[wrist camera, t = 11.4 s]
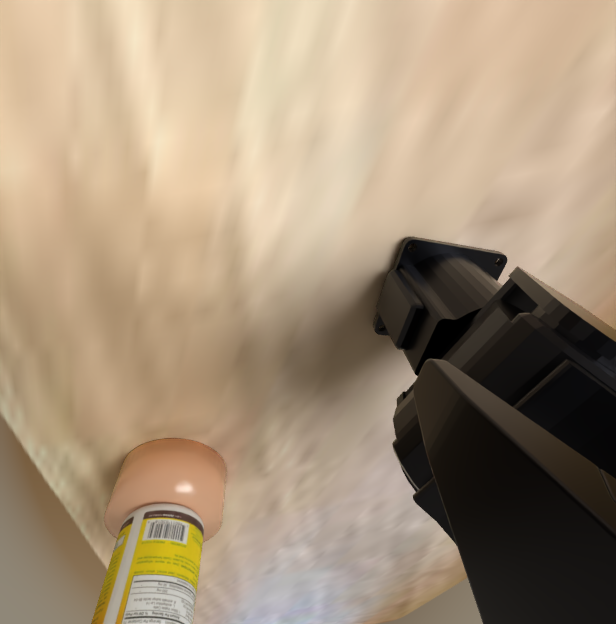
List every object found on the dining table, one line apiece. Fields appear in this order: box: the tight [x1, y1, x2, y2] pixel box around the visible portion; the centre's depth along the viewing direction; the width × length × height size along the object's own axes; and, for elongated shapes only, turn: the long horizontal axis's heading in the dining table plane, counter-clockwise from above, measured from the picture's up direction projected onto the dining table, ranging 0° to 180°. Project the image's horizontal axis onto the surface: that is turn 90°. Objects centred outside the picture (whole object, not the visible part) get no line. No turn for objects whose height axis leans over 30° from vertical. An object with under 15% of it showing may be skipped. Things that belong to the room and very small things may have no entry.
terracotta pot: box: [104, 438, 227, 542], centre depth 28 cm, size 8×8×4 cm
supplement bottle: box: [91, 503, 204, 624], centre depth 22 cm, size 6×6×10 cm
